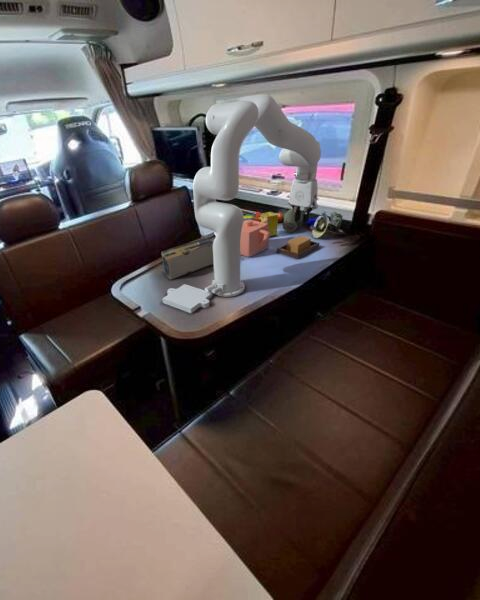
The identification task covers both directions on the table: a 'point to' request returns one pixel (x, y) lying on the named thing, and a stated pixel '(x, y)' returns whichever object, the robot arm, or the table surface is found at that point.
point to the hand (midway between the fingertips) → (300, 221)
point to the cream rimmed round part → (325, 226)
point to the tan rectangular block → (298, 244)
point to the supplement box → (271, 222)
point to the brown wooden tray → (312, 247)
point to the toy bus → (187, 258)
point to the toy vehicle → (336, 219)
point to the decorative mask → (258, 217)
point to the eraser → (283, 211)
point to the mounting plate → (187, 298)
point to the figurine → (311, 223)
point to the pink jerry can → (254, 237)
